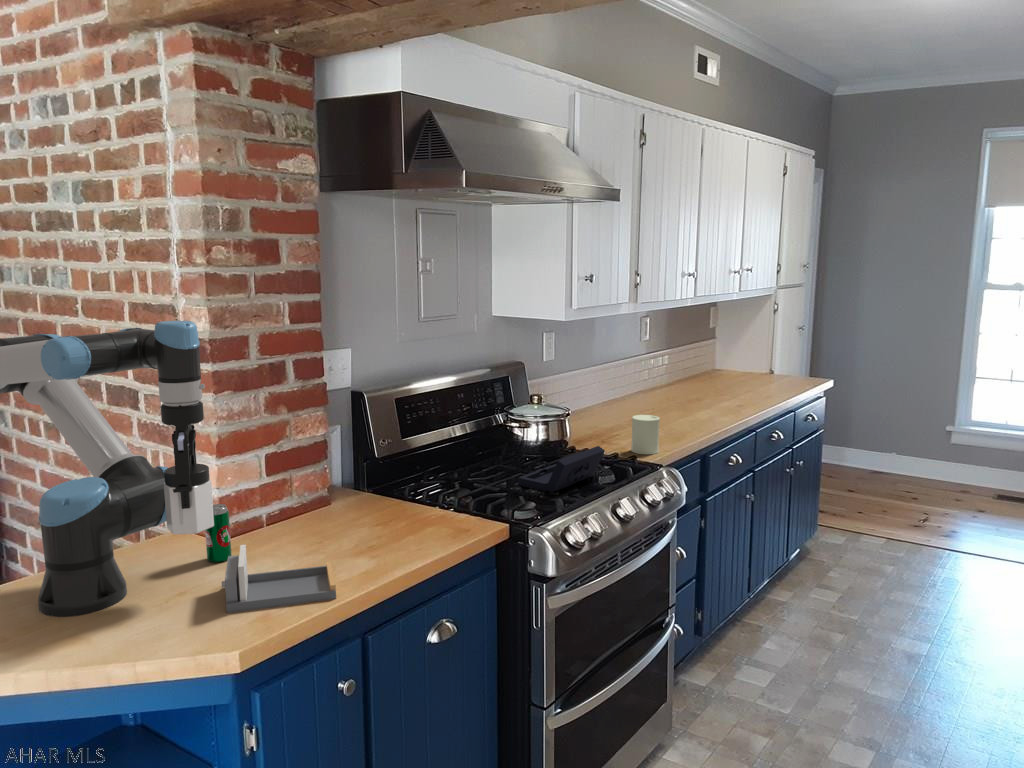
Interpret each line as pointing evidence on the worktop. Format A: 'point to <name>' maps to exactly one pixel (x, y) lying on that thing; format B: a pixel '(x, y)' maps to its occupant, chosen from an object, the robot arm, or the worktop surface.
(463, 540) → the worktop surface
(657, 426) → the can
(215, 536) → the soda can
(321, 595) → the grey tray
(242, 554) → the pusher
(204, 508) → the jar
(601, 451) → the dark navy angled device
